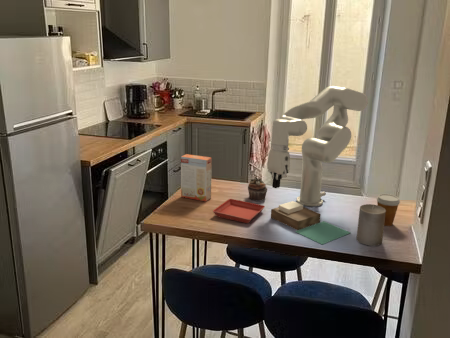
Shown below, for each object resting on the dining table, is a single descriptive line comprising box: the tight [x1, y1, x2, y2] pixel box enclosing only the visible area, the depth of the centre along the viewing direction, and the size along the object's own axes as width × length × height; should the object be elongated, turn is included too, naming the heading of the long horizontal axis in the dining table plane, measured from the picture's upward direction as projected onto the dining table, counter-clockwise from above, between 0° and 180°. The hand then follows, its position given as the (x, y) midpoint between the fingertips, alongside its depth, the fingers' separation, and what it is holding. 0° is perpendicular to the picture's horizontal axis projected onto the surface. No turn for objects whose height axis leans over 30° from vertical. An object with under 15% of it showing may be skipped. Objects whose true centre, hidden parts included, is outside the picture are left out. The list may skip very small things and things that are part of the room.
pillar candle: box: [356, 203, 386, 247], centre depth 169 cm, size 10×10×15 cm
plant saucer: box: [212, 198, 265, 224], centre depth 193 cm, size 18×18×3 cm
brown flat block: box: [270, 206, 321, 231], centre depth 188 cm, size 14×16×4 cm
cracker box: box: [180, 153, 213, 202], centre depth 209 cm, size 14×6×21 cm, turn 65°
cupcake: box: [247, 177, 268, 201], centre depth 213 cm, size 10×10×10 cm
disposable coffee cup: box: [376, 193, 401, 227], centre depth 187 cm, size 10×10×12 cm
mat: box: [294, 221, 351, 245], centre depth 177 cm, size 18×14×1 cm
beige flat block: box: [278, 200, 304, 214], centre depth 190 cm, size 9×6×2 cm, turn 128°
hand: (276, 187), depth 194 cm, fingers closed
